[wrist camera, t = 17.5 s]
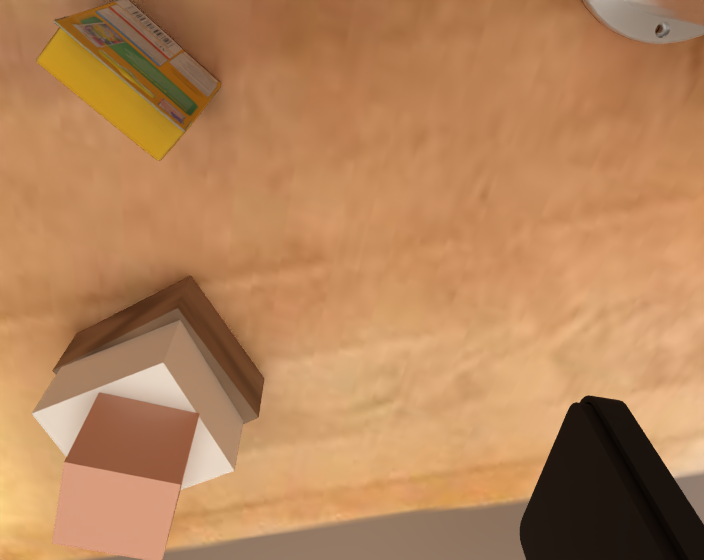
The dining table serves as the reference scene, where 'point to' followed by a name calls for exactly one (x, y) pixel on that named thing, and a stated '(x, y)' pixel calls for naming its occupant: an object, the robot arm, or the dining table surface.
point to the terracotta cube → (124, 477)
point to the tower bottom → (202, 327)
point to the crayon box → (130, 74)
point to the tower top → (149, 395)
